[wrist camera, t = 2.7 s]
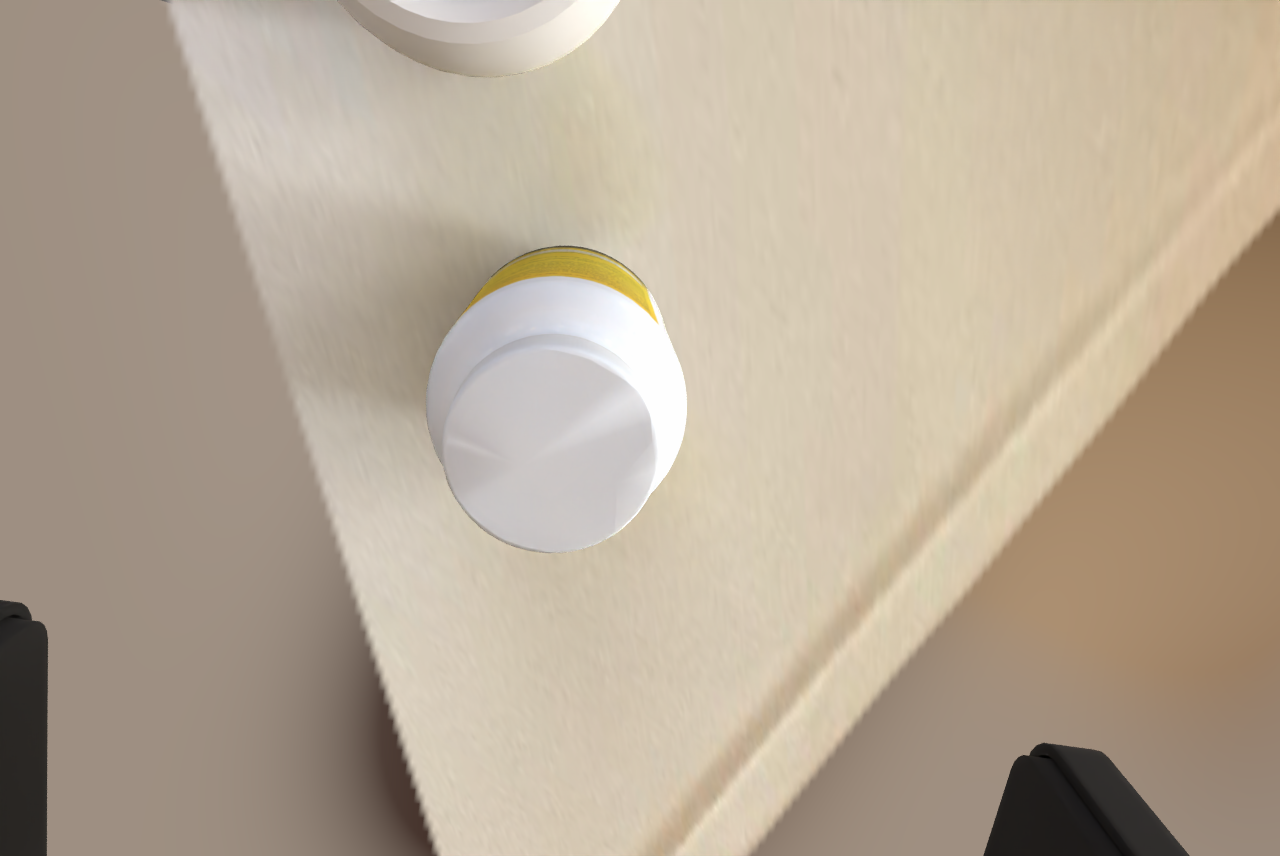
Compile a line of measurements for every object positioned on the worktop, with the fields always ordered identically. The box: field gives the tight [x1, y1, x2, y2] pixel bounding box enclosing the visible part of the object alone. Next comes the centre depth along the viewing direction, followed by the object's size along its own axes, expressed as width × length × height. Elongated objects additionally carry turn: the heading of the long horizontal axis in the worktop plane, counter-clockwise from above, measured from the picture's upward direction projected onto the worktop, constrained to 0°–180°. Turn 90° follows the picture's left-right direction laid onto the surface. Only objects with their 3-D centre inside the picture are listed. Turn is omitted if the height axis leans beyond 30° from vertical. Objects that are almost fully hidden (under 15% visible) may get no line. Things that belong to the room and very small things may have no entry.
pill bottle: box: [426, 246, 687, 553], centre depth 26 cm, size 6×6×12 cm
